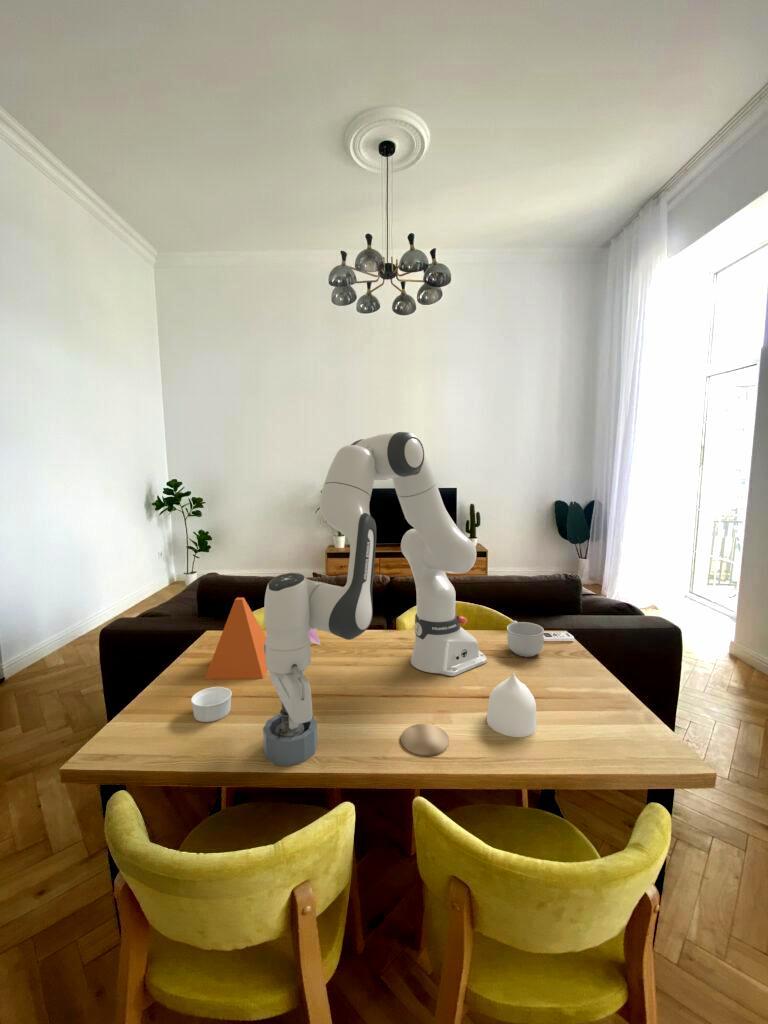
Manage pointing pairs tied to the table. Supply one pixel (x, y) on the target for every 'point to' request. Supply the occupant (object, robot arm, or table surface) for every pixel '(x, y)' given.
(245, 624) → the pyramid
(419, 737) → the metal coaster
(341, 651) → the table surface
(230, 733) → the table surface
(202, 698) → the ramekin
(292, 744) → the grey faceted cup
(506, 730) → the teardrop
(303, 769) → the table surface
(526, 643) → the teacup
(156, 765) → the table surface
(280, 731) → the grey chess piece
